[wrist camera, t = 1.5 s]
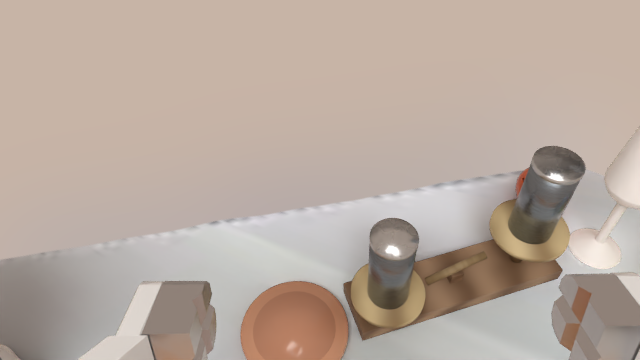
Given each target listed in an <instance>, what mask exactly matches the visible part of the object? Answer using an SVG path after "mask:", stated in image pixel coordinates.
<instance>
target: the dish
mask: <svg viewBox="0 0 640 360" xmlns="http://www.w3.org/2000/svg"><path fill="white" fill-rule="evenodd" d="M347 341H348V322H347V317H346V314H345V311H344V309H343V307H342V305H341V304H340V302H339V301H338V300H337V298H336V297H335V296H334V295H333V294H331V293H330V292H329V291H327V290H326V289H324V288H323V287H321V286H318V285H316V284H313V283H309V282H302V281H293V282H286V283H282V284H279V285H276V286H274V287H272V288H270V289H268V290H266V291H265V292H263V293H262V294H261V295H259V296H258V297H257V298H256V299H255V300H254V301H253V303H252V304H251V305H250V307H249V308H248V310H247V312H246V314H245V316H244V319H243V322H242V326H241V344H242V348H243V352H244V354H245V357H246V359H247V360H341V358H342V357H343V355H344V352H345V350H346V346H347Z"/></svg>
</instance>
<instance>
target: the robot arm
mask: <svg viewBox="0 0 640 360" xmlns="http://www.w3.org/2000/svg"><path fill="white" fill-rule="evenodd" d="M559 289H560V291H561V292H562V294H563V295H562V296H561V297H560V298H559V299H557V300H556V301H555V302H554V305H553V309H552V313H551V314H552V326H553V329H554V332H555V335H556V337H557V339H558V341H559V343H560V344H562V345H563V346H564V347H566V348H567V349H569V350H570V351H571V353H570V357H569V360H640V276H639V275H637V274H635V273H633V272H628V273H610V274H569V275H565V276H564V277H563V278H562V279H561V282H560V285H559ZM211 295H212V292H211V288H210V283H208V282H207V281H165V282H149V281H143V282H142V283H141V284H140V285H139V286H138V288H137V290H136V292H135V295H134V297H133V299H132V301H131V303H130V305H129V307H128V309H127V312H126V314H125V316H124V318H123V320H122V322H121V324H120V326H119V329H118V331H117V333H116V335H115V336H108V337H107V338H105V339H104V340H103V341H101V342H100V343H99V344H97V345H96V346H95V347H93V348H92V349H91V350H89V351H88V352H87V353H85V354H84V355H83V356H81V357H80V358H79V359H77V360H208V357H207V354H208V353H209V352H210V351H212V350H213V347H214V342H215V336H216V314H215V308H214V307H213V306H211V305H210V304H209V303H210V299H211ZM0 360H21V359H19V358H18V357H17V355H16V354H15V353H14V352H13V351H12V350H11V349H10V348H9V347H7V346H5V345H2V344H0Z"/></svg>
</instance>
